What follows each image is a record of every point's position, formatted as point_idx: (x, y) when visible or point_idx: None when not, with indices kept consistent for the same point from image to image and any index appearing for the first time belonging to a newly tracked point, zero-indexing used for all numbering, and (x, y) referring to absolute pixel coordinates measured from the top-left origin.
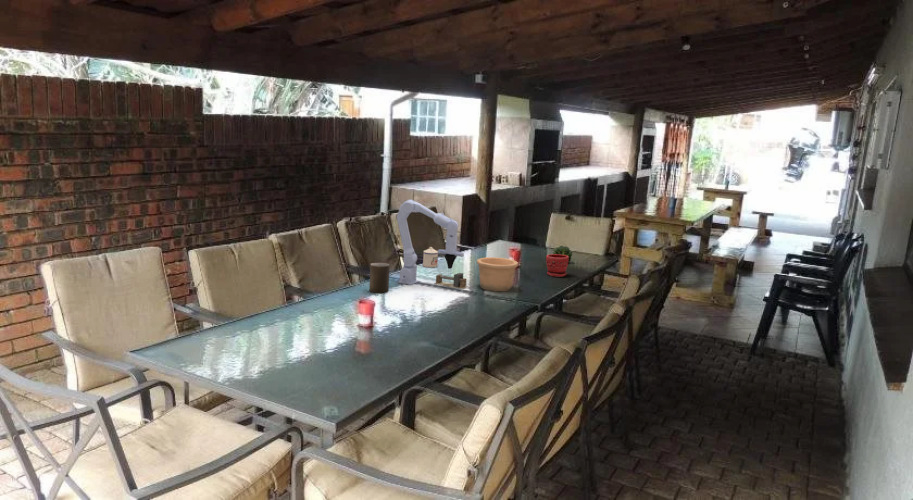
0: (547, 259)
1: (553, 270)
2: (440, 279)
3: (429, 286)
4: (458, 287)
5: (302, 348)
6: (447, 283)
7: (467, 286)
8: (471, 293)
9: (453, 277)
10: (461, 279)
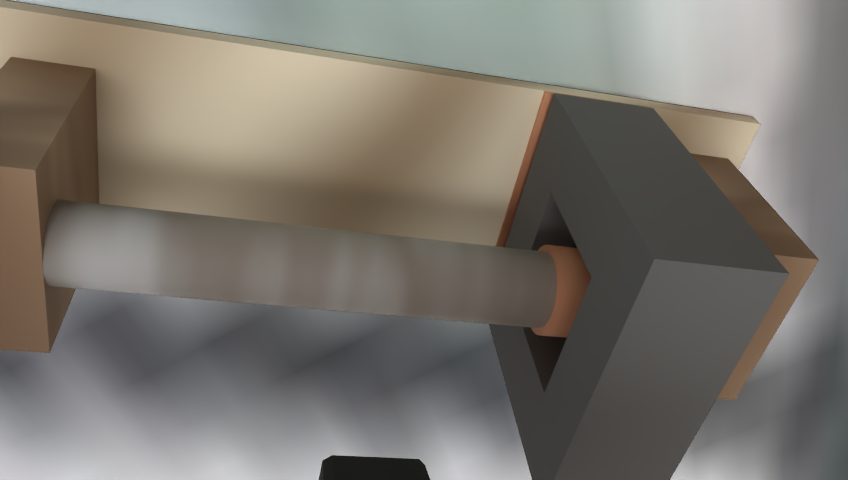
0: None
1: None
2: (76, 193)
3: (59, 424)
4: None
5: None
6: (277, 123)
7: (756, 121)
8: (813, 443)
9: (473, 309)
10: None
